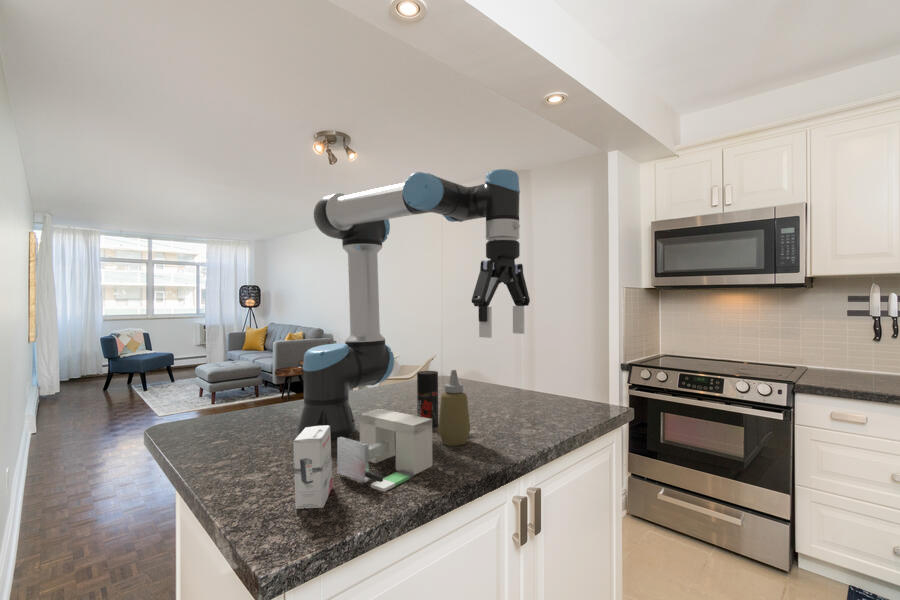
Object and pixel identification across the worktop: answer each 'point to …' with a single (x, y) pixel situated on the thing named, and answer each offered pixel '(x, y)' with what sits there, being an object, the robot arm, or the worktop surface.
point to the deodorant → (427, 395)
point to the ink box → (312, 467)
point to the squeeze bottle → (454, 413)
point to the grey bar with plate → (358, 458)
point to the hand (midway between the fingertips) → (502, 335)
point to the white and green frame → (398, 443)
